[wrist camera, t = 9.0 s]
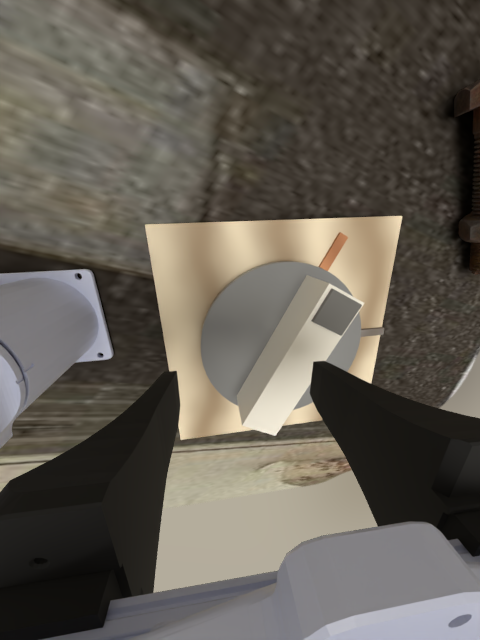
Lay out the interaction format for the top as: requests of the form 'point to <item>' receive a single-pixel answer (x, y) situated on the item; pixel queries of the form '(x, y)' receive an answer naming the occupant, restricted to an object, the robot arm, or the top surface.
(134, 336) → the top surface
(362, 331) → the dial board
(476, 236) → the bolt
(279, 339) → the dial
